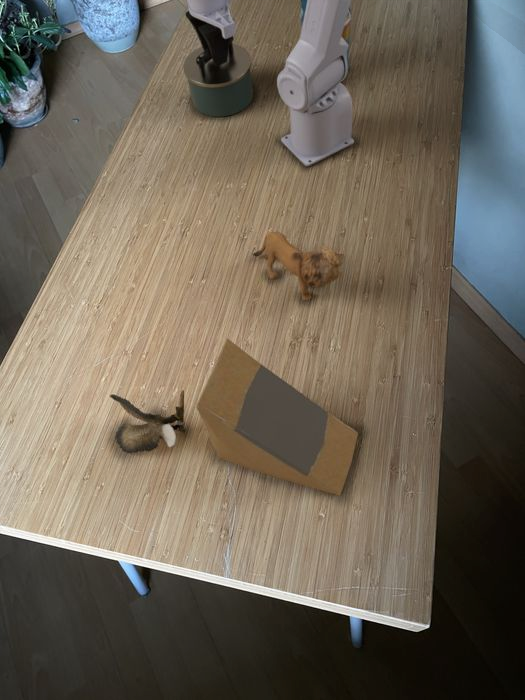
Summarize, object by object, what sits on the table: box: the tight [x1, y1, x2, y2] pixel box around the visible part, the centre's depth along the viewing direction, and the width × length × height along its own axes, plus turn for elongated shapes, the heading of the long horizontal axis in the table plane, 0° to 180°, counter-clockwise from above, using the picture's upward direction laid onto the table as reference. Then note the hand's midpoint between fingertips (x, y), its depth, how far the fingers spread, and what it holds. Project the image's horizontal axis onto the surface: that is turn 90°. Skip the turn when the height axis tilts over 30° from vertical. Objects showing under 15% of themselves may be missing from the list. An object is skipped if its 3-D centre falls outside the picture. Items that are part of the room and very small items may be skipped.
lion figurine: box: [251, 231, 345, 302], centre depth 80 cm, size 15×5×9 cm, turn 55°
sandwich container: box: [195, 337, 359, 496], centre depth 65 cm, size 9×15×15 cm, turn 71°
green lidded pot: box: [182, 36, 254, 118], centre depth 101 cm, size 12×12×10 cm
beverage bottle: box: [299, 0, 352, 83], centre depth 98 cm, size 8×8×20 cm
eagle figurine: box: [109, 389, 186, 455], centre depth 71 cm, size 8×7×9 cm
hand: (216, 58), depth 99 cm, fingers closed on green lidded pot, 3 cm apart
